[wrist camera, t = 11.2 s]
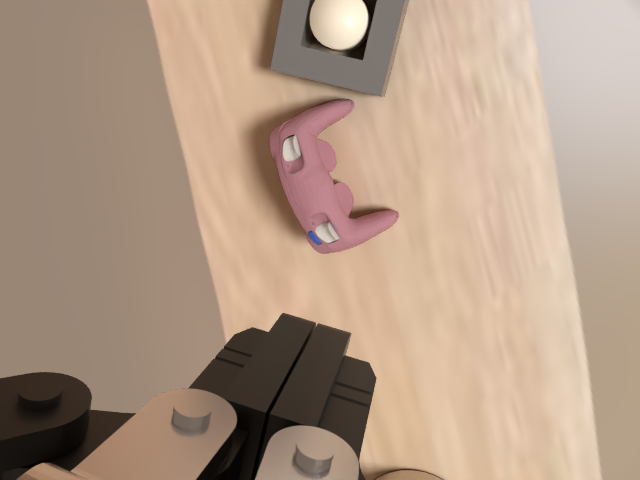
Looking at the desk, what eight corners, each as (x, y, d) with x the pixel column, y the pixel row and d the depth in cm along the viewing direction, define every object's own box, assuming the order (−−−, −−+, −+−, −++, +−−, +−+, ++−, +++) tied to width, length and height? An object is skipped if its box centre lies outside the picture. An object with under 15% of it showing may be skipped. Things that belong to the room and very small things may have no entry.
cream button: (363, 56, 37) (358, 54, 35) (312, 45, 37) (304, 41, 35) (376, 0, 36) (372, -7, 34) (324, -12, 36) (316, -19, 34)
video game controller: (308, 112, 41) (244, 135, 36) (355, 89, 38) (291, 111, 33) (359, 233, 42) (304, 271, 37) (408, 221, 39) (355, 260, 34)
